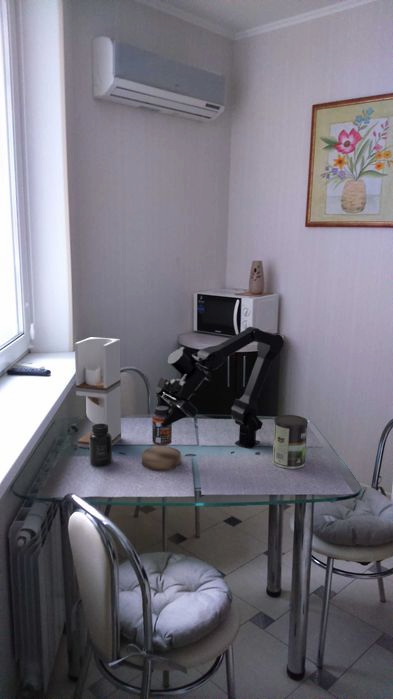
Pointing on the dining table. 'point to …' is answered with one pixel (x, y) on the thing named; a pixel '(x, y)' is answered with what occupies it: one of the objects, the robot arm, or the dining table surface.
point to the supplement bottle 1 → (100, 445)
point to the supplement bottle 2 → (161, 427)
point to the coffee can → (289, 441)
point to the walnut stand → (161, 458)
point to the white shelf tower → (100, 383)
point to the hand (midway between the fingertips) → (158, 423)
